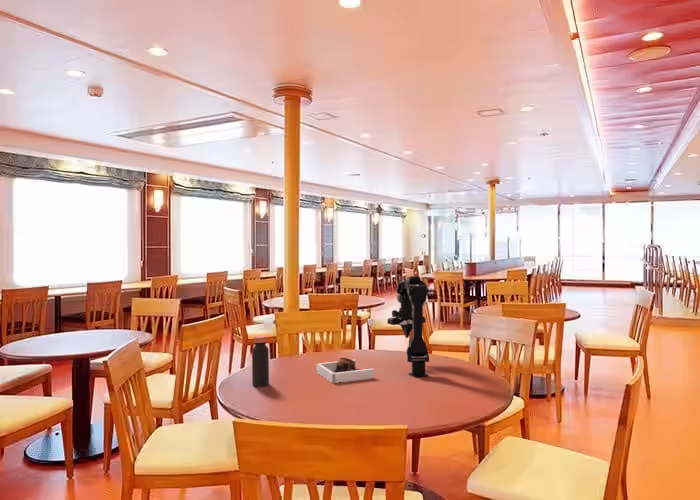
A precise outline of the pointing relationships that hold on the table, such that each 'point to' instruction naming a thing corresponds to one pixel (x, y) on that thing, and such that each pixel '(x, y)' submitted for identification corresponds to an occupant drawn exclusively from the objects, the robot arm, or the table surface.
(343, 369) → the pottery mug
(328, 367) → the frame
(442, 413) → the table surface
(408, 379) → the table surface
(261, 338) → the bottle
